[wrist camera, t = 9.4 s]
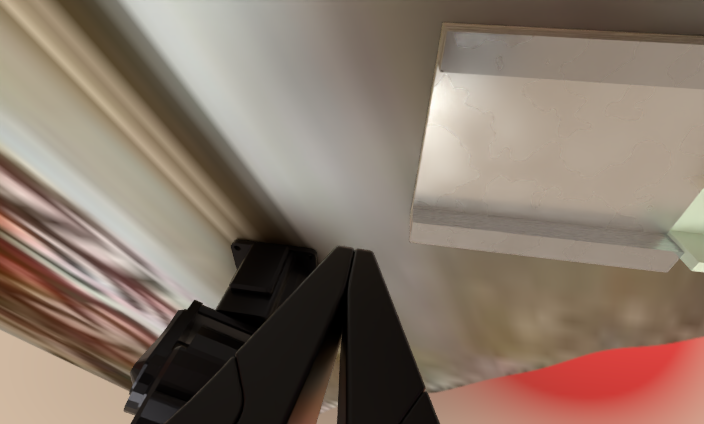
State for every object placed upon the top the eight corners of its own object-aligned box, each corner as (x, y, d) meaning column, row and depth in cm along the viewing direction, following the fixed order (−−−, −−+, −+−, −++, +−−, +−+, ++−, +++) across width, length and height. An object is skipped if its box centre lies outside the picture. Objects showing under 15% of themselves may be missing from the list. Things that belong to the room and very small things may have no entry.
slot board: (641, 242, 20) (667, 272, 18) (409, 216, 21) (409, 242, 19) (793, 40, 13) (859, 53, 11) (442, 22, 15) (447, 31, 13)
